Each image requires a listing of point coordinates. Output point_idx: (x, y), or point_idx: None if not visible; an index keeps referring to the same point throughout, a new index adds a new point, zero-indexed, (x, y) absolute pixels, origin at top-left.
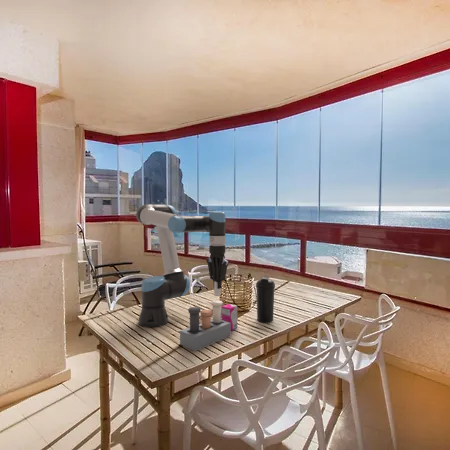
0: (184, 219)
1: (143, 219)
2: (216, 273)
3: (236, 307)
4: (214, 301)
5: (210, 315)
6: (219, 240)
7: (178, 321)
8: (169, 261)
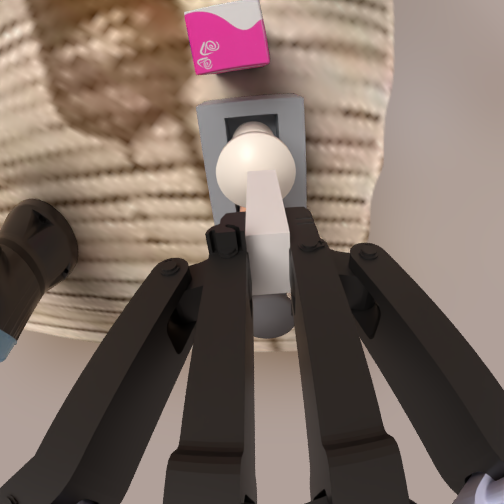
0: None
1: None
2: (249, 348)
3: (260, 7)
4: (232, 178)
5: None
6: None
7: (60, 175)
8: None
